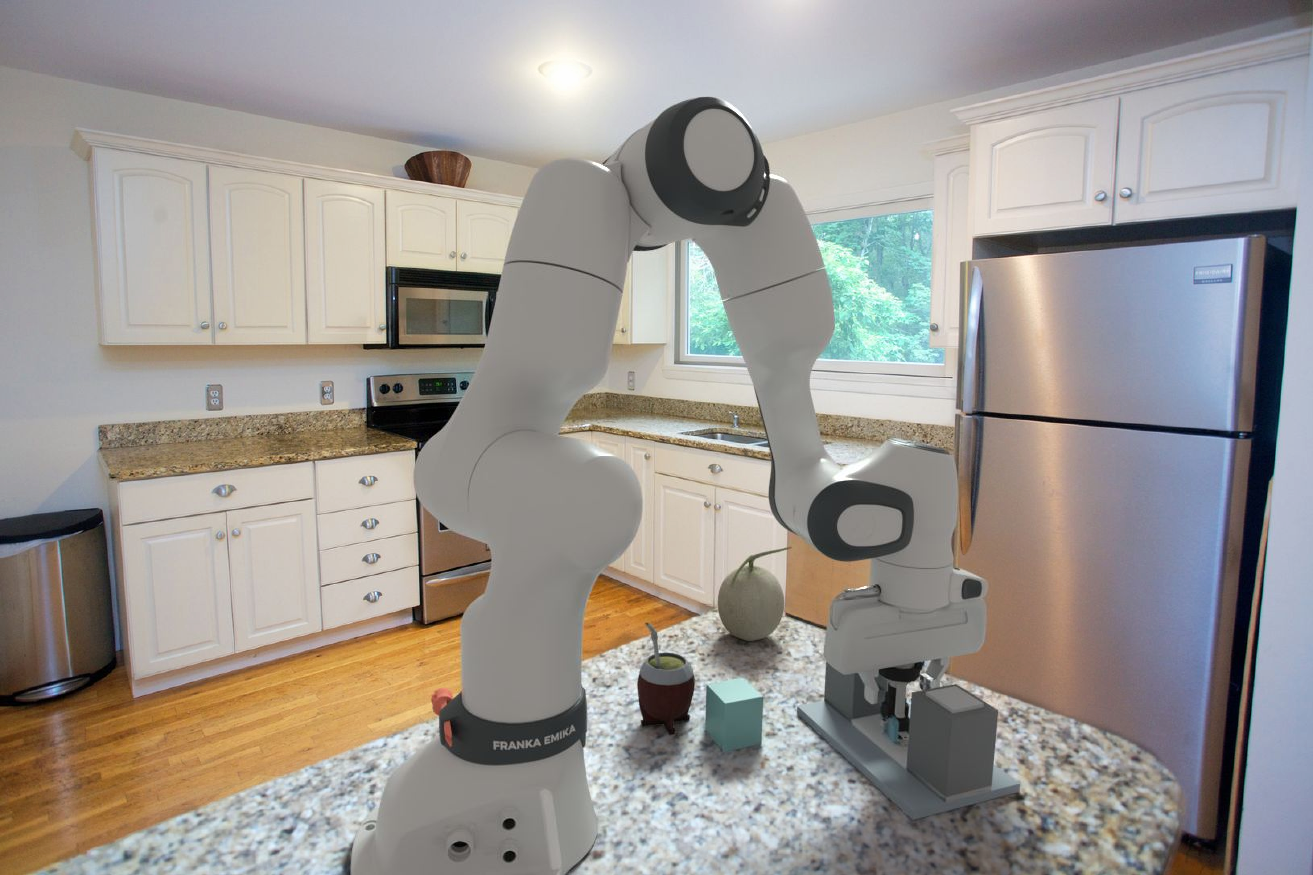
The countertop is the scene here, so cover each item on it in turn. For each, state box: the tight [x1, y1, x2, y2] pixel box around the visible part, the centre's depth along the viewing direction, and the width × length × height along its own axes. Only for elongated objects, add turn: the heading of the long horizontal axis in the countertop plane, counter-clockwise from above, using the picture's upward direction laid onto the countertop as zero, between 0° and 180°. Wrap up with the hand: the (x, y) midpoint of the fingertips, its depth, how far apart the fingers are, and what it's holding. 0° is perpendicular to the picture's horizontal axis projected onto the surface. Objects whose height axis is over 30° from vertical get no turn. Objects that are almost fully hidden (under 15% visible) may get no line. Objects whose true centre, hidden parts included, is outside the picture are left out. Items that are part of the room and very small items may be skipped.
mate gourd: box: [636, 622, 696, 736], centre depth 89 cm, size 8×8×15 cm
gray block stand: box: [796, 660, 1021, 821], centre depth 85 cm, size 14×22×10 cm, turn 20°
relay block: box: [704, 677, 764, 752], centre depth 87 cm, size 5×5×6 cm
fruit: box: [717, 546, 792, 642], centre depth 115 cm, size 10×12×15 cm
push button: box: [879, 662, 924, 748], centre depth 85 cm, size 7×5×10 cm
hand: (901, 695), depth 85 cm, fingers open, 6 cm apart
